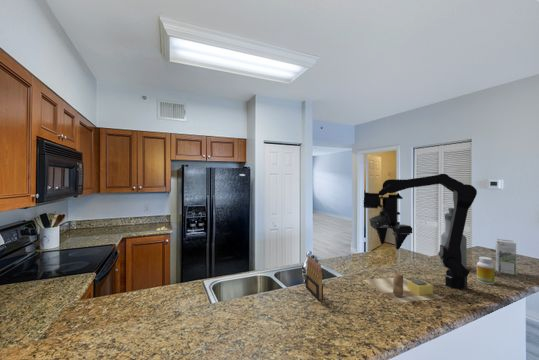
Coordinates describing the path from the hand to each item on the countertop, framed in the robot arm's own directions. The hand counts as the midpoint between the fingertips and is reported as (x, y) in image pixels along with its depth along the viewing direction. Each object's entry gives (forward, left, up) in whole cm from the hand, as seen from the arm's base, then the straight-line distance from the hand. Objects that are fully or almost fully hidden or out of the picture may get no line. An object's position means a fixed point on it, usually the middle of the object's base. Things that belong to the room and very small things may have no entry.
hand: (389, 246), depth 103 cm
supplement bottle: (-36, +11, -13) cm, 40 cm away
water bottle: (-41, -7, -13) cm, 44 cm away
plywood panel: (+5, +12, -13) cm, 18 cm away
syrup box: (-57, +4, -13) cm, 59 cm away
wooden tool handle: (+10, +17, -12) cm, 23 cm away
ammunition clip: (+37, +8, -13) cm, 40 cm away
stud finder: (0, +16, -12) cm, 20 cm away
